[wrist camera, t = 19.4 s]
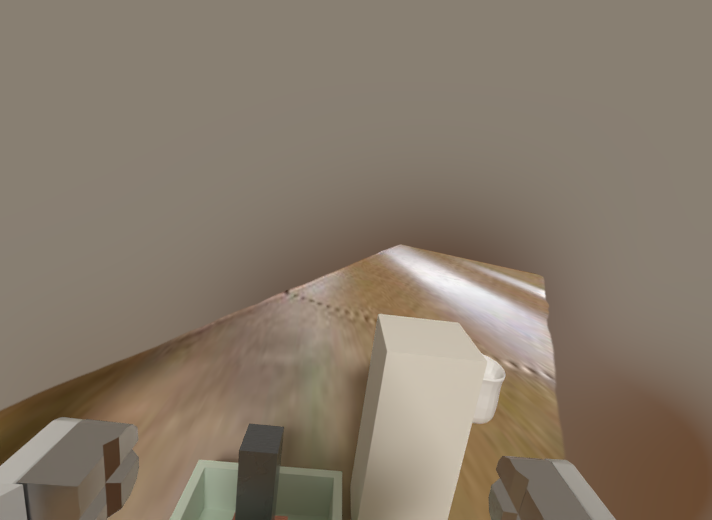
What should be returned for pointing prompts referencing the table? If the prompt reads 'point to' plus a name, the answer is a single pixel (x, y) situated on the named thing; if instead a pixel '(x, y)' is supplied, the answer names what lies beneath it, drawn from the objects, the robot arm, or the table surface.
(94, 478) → the robot arm
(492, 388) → the cup
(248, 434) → the grey long block
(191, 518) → the green bin
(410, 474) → the cream block
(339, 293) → the table surface
